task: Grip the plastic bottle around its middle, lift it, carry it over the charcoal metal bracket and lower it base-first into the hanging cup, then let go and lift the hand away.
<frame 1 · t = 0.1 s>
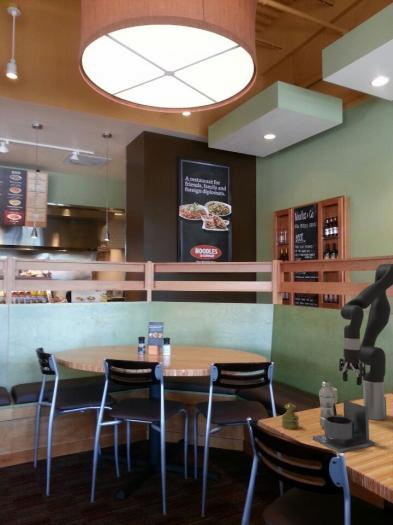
hand: (352, 383, 192), 17 cm above the table, tool pointing down, fingers open, 8 cm apart
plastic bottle: (327, 428, 183), on the table
cup bracket: (339, 443, 165), on the table
brass knob: (290, 427, 184), on the table
character mug: (330, 416, 198), on the table
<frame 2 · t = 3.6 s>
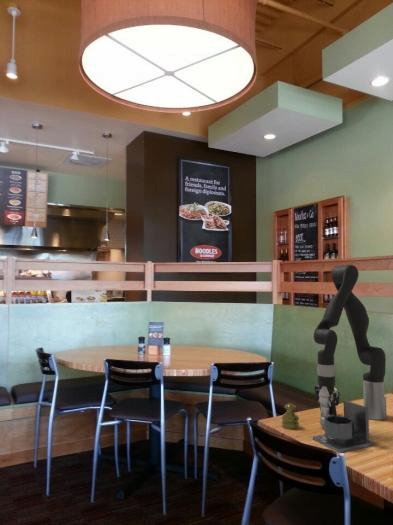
hand: (327, 412, 183), 6 cm above the table, tool pointing down, fingers closed on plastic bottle, 5 cm apart
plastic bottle: (327, 428, 183), on the table, touching gripper
everything else where it was.
when the fingers open (12 cm above the table, at t = 10.5 s): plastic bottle drops 1 cm, resting on cup bracket.
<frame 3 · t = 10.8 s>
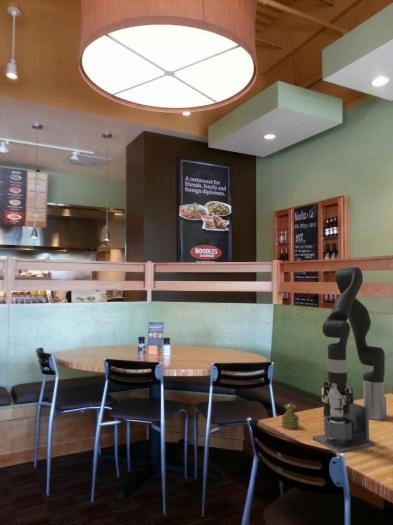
hand: (338, 411, 165), 13 cm above the table, tool pointing down, fingers open, 8 cm apart
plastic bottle: (337, 432, 166), point 4 cm above the table, touching cup bracket, gripper
everything else where it was.
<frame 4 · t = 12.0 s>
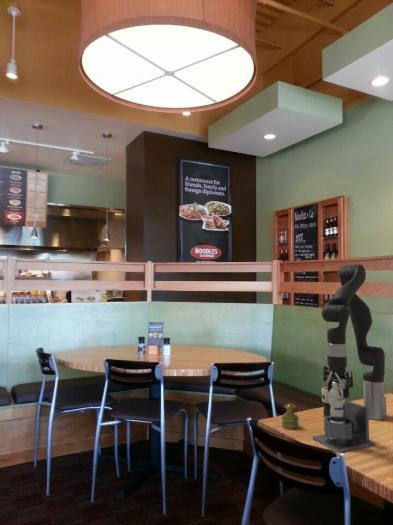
hand: (338, 395, 166), 19 cm above the table, tool pointing down, fingers open, 8 cm apart
nothing on the table moved.
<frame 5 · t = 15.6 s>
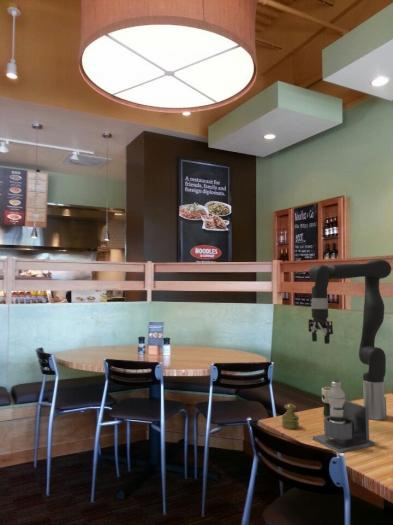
hand: (320, 342, 193), 36 cm above the table, tool pointing down, fingers open, 8 cm apart
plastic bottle: (337, 432, 166), point 4 cm above the table, touching cup bracket
everything else where it was.
at the end: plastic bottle 1.0 cm off-centre on the cup bracket, point 3.8 cm above the cup bracket's base; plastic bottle tilted 0°; the gripper is holding nothing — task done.
